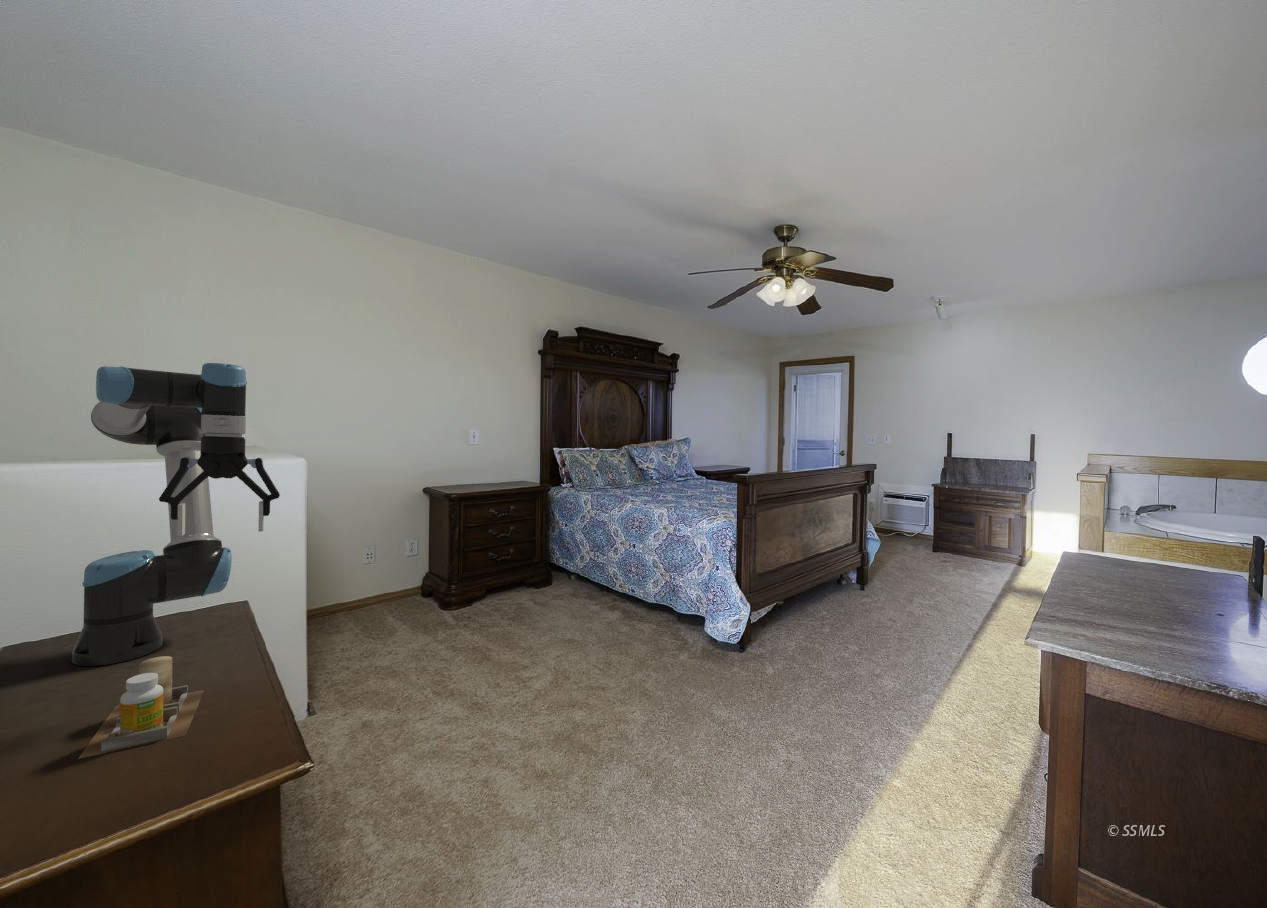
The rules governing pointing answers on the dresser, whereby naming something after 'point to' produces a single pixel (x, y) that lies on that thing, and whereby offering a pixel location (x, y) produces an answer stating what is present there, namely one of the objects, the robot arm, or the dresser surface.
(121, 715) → the supplement bottle
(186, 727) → the board
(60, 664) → the dresser surface
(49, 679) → the dresser surface
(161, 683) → the beech dowel
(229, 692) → the dresser surface
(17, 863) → the dresser surface
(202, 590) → the robot arm
